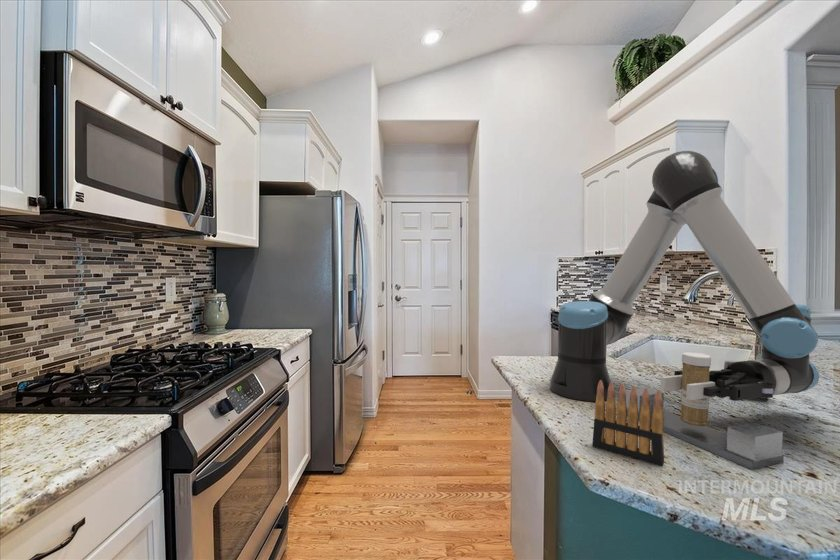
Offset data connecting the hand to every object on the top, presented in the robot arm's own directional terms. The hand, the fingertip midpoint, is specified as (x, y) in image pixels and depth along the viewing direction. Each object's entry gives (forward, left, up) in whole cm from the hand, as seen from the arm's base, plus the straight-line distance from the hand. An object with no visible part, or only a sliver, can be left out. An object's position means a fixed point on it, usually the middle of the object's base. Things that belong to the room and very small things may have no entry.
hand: (675, 388), depth 71 cm
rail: (+4, +3, -10) cm, 11 cm away
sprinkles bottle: (+4, +3, -7) cm, 9 cm away
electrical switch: (+25, +36, -10) cm, 45 cm away
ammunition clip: (-9, -11, -10) cm, 17 cm away
